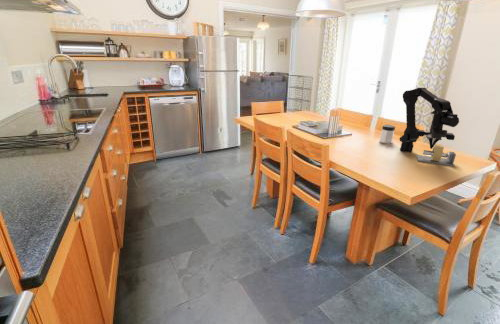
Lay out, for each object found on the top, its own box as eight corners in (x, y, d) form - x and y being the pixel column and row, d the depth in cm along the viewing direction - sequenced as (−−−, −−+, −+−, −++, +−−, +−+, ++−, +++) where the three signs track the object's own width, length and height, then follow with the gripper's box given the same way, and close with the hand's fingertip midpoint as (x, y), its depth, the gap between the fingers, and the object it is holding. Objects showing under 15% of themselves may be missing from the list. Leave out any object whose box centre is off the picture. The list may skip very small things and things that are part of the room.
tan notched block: (432, 160, 163) (435, 146, 160) (430, 156, 168) (434, 143, 165) (439, 161, 162) (443, 147, 158) (438, 157, 167) (442, 144, 164)
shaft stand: (417, 161, 165) (420, 151, 162) (416, 156, 173) (418, 146, 171) (453, 166, 158) (456, 155, 155) (450, 160, 166) (453, 150, 164)
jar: (394, 142, 200) (398, 126, 196) (387, 144, 197) (390, 127, 192) (384, 139, 207) (387, 124, 203) (376, 140, 204) (379, 125, 200)
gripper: (420, 124, 155) (414, 150, 161) (460, 127, 148) (452, 155, 154) (418, 120, 165) (412, 145, 170) (455, 123, 157) (448, 149, 163)
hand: (430, 148), depth 164 cm, fingers closed
